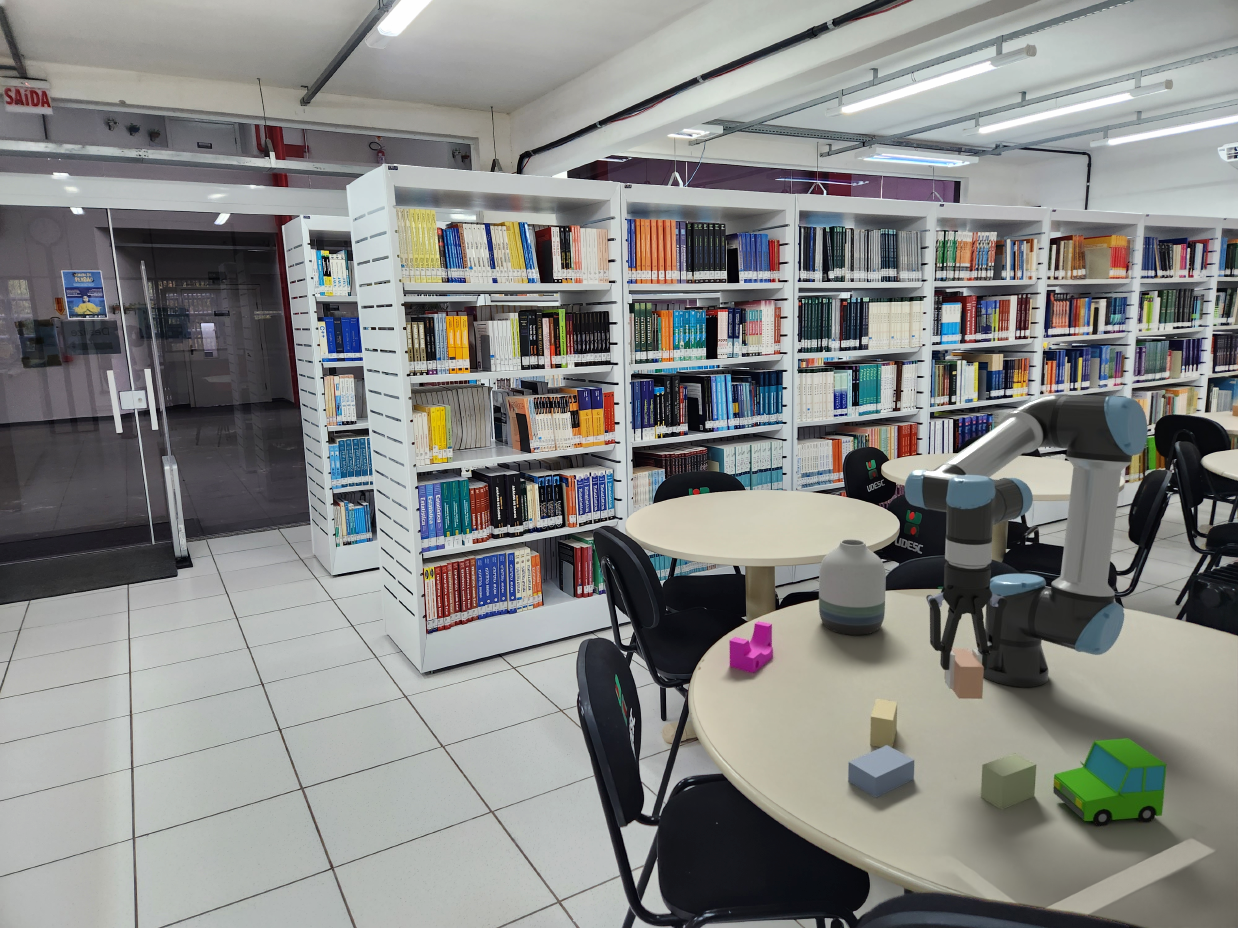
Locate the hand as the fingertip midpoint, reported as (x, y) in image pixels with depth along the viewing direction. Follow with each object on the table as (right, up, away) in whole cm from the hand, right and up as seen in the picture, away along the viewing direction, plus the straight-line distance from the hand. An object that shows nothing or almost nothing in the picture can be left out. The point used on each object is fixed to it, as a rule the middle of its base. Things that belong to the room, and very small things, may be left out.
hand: (962, 685), depth 140 cm
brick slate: (-16, -16, -4) cm, 23 cm away
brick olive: (+3, -16, -10) cm, 19 cm away
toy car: (+17, -17, -14) cm, 28 cm away
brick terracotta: (0, -1, 0) cm, 1 cm away
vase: (0, -4, +66) cm, 66 cm away
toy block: (-29, -8, +47) cm, 56 cm away
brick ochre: (-11, -13, +10) cm, 20 cm away
